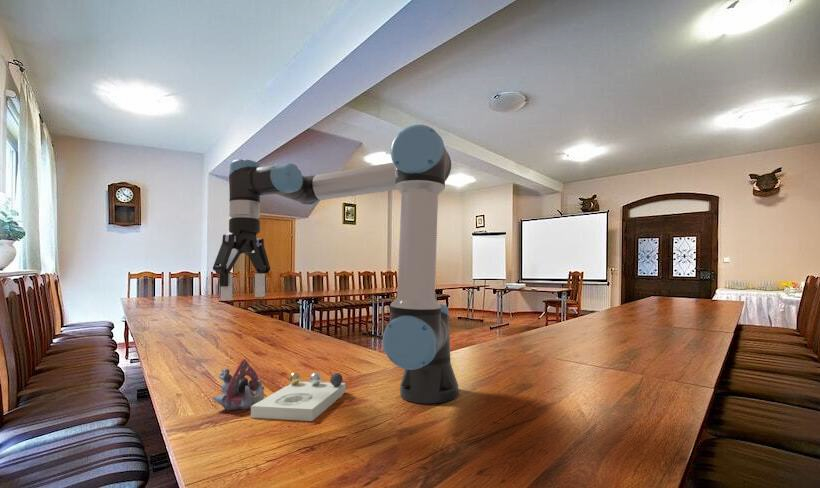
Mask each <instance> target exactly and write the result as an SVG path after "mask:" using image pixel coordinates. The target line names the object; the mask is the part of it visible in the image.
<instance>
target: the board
mask: <svg viewBox="0 0 820 488" xmlns="http://www.w3.org/2000/svg"><path fill="white" fill-rule="evenodd" d="M346 388H347V385H346V383H345V382H342V383H341V384H340V385H339V386H334V385H332V384H331V382H328V381H327V382H323V381H321V382H320V383H319V384H318V385H312V384H311V383H310V381H300V382H299V383H298V384H295V385H293V384H291V383H289V384H287V385H285V386H284V387H282V388H281V389H279V390H277V391H274V392H273V393H272V394H269V395H268V396H267V397H263V400H261V401H259V402H257V403H256V404H254V405H252V406H251V408H250V418H251V419H252V418H253V419H268V420H284V421H285V420H287V421H299V422H300V421H303V422H304V421H305V422H313V421H314V420H315V419H317V418H318V417H319V416H320V415H321V414H323V413H324V412H325V411H326V410H327V409H328V408H330V406H332V405H333V404H334V403H335V402H336V400H337V399H338V398H339V399H340V398H341V397H342V396H344V395H345V394H346V393H345V392H347V391H346ZM344 393H345V394H344ZM343 394H344V395H343ZM339 399H338V400H339Z"/></svg>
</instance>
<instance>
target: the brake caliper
mask: <svg viewBox="0 0 820 488" xmlns="http://www.w3.org/2000/svg"><path fill="white" fill-rule="evenodd" d="M246 376H248V377H250V379H248V378H247V377H246ZM218 378H219V379H220V380H221V381H222V384H221V392H222V394H221V395H220V394H219V395H216V396H212V400H214V402H216V403H218V404H219V405H220V406H222V407H223V408H224V410H226V411H234V410H249V409H250V410H251V406H252V405H254V404H256V403H257V402H259V401H261V400H263V399H264V398H265V391H264V389H265V386H263V385H262V384H263V383H262V381H261V379H259V376H258V375H257V372H256V371H255V370H254V368H253V367H252V366H250V364H249V363H248V361H247V359H242V360H241V361H240V362H239V365H238V366H237V367H236V369H235V372H234V374H233V375H232V374H231V373H230V369H229V368H225V369H224V368H221V372H220V373H219V375H218Z"/></svg>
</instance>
